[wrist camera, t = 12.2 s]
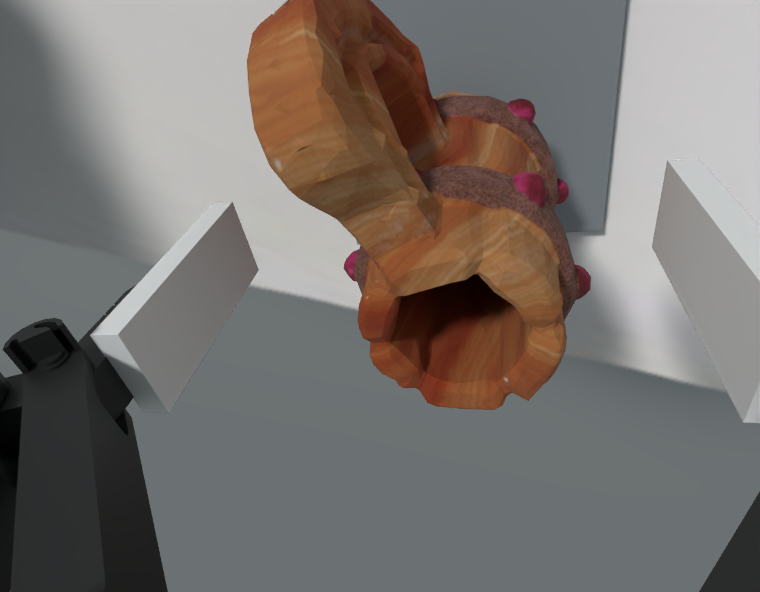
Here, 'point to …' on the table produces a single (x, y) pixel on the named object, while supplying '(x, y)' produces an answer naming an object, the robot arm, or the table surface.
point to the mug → (421, 202)
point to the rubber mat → (533, 75)
